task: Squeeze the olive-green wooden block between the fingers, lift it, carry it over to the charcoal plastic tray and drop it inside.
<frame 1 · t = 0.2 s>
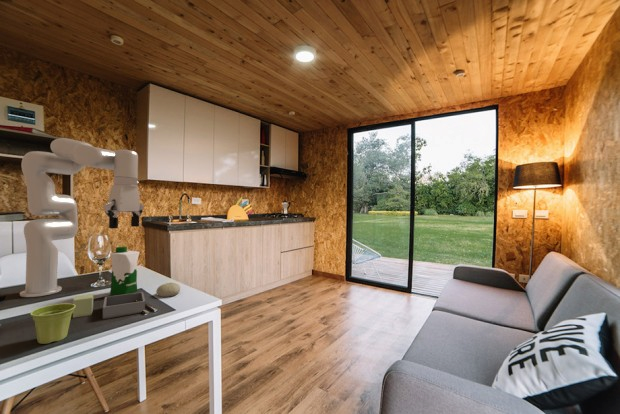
hand: (124, 227, 102), 30 cm above the table, tool pointing down, fingers open, 9 cm apart
plant pot: (52, 339, 77), on the table
milk carton: (124, 293, 117), on the table
tray: (124, 309, 99), on the table
olive block: (83, 313, 94), on the table
sea urchin shell: (168, 295, 117), on the table
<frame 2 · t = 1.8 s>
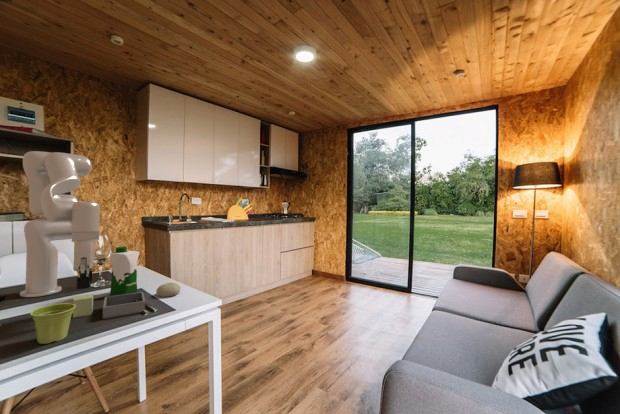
hand: (84, 285, 94), 10 cm above the table, tool pointing down, fingers open, 9 cm apart
nothing on the table moved.
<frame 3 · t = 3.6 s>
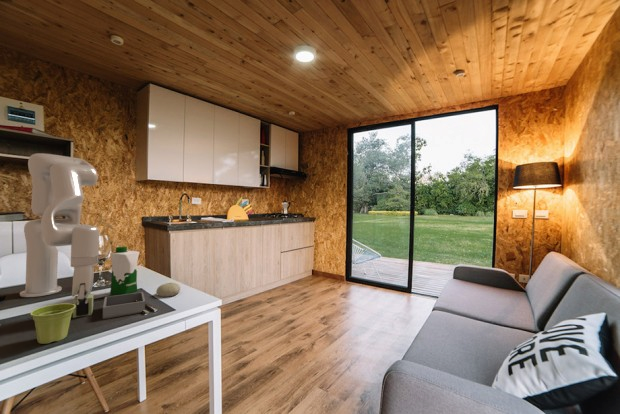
hand: (83, 311, 94), 1 cm above the table, tool pointing down, fingers closed on olive block, 5 cm apart
olive block: (83, 313, 94), on the table, touching gripper
everything else where it was.
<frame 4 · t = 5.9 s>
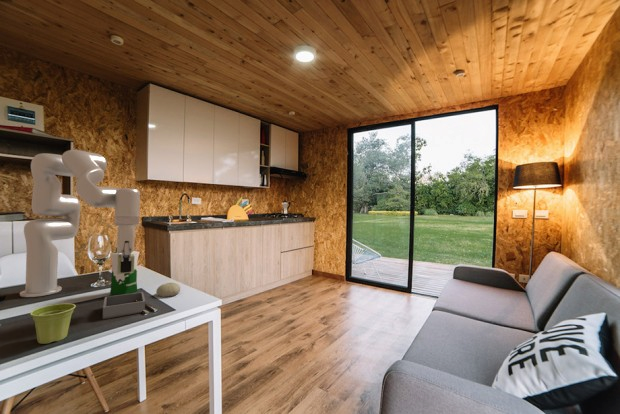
hand: (125, 269, 99), 15 cm above the table, tool pointing down, fingers closed on olive block, 5 cm apart
olive block: (125, 271, 99), point 14 cm above the table, touching gripper
everything else where it was.
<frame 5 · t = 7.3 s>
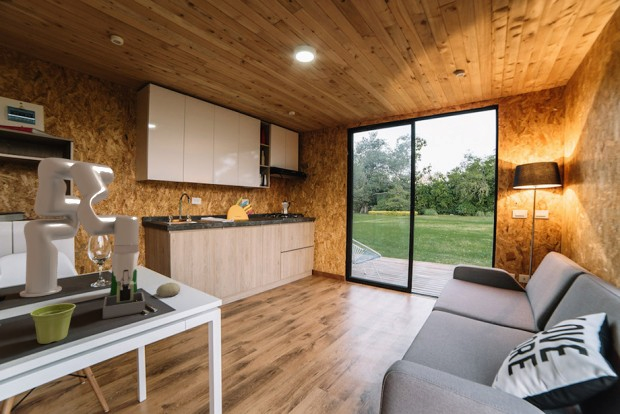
hand: (125, 297, 99), 5 cm above the table, tool pointing down, fingers closed on olive block, 5 cm apart
olive block: (125, 299, 99), point 4 cm above the table, touching gripper
everything else where it was.
when the fingers open (4 cm above the table, at t = 8.3 s): olive block drops 2 cm, resting on tray.
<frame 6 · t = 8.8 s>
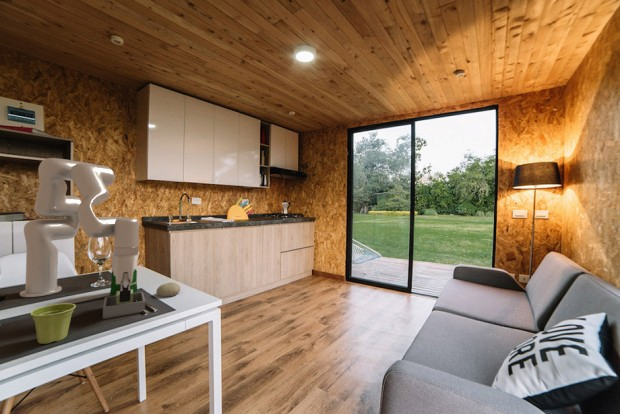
hand: (124, 297, 99), 5 cm above the table, tool pointing down, fingers open, 9 cm apart
olive block: (124, 308, 99), resting on tray
everything else where it was.
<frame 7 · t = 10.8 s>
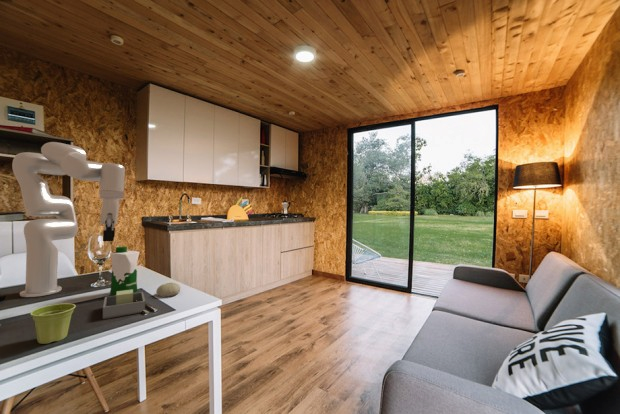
hand: (109, 239, 104), 25 cm above the table, tool pointing down, fingers open, 9 cm apart
nothing on the table moved.
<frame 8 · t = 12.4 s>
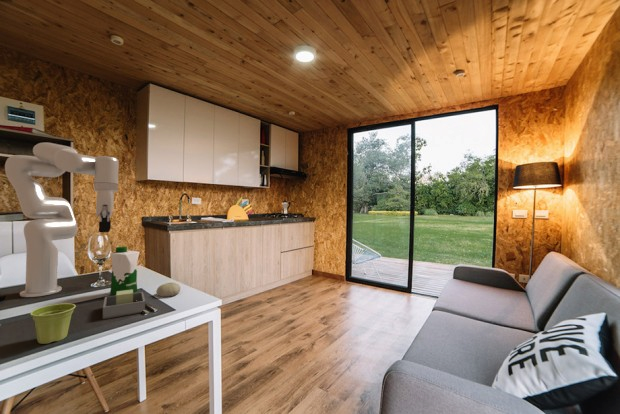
hand: (104, 231, 105), 28 cm above the table, tool pointing down, fingers open, 9 cm apart
nothing on the table moved.
at the end: olive block inside the target area on the tray (0.1 cm from its centre), point 0.5 cm above the tray's base; the gripper is holding nothing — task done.
